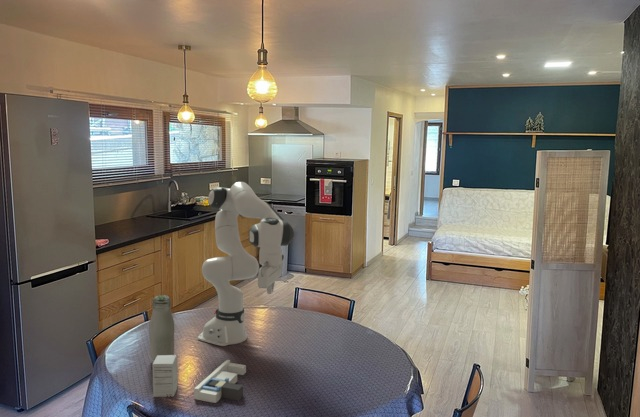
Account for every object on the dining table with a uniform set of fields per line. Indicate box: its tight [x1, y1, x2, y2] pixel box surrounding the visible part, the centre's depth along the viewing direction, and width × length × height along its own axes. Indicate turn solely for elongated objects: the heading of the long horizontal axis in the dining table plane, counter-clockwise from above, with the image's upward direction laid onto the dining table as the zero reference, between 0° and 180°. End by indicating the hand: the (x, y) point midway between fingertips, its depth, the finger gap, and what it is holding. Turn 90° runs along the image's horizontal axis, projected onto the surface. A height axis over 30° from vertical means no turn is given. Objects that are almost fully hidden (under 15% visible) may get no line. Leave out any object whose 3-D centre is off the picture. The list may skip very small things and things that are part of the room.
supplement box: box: [151, 354, 179, 398], centre depth 174 cm, size 7×7×13 cm
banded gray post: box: [208, 380, 244, 401], centre depth 173 cm, size 12×4×4 cm, turn 73°
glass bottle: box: [148, 294, 175, 362], centre depth 198 cm, size 10×10×28 cm
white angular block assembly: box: [193, 359, 247, 404], centre depth 180 cm, size 8×24×5 cm, turn 163°
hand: (270, 292), depth 192 cm, fingers closed
